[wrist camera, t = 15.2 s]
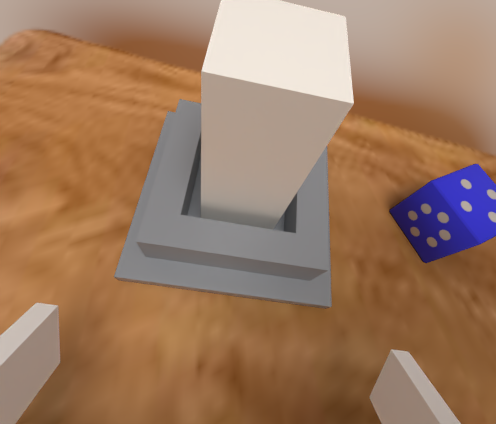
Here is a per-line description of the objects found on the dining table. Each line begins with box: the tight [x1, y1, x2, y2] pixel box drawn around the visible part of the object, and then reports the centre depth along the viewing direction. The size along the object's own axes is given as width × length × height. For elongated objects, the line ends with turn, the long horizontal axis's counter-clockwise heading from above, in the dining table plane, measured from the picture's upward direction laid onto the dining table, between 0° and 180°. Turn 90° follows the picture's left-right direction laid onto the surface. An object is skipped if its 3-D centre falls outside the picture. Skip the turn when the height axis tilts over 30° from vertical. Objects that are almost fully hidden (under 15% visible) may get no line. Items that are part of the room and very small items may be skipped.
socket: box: [114, 99, 332, 309], centre depth 20 cm, size 14×14×4 cm
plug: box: [201, 0, 354, 230], centre depth 15 cm, size 5×5×12 cm
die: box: [390, 164, 496, 263], centre depth 21 cm, size 5×5×5 cm
